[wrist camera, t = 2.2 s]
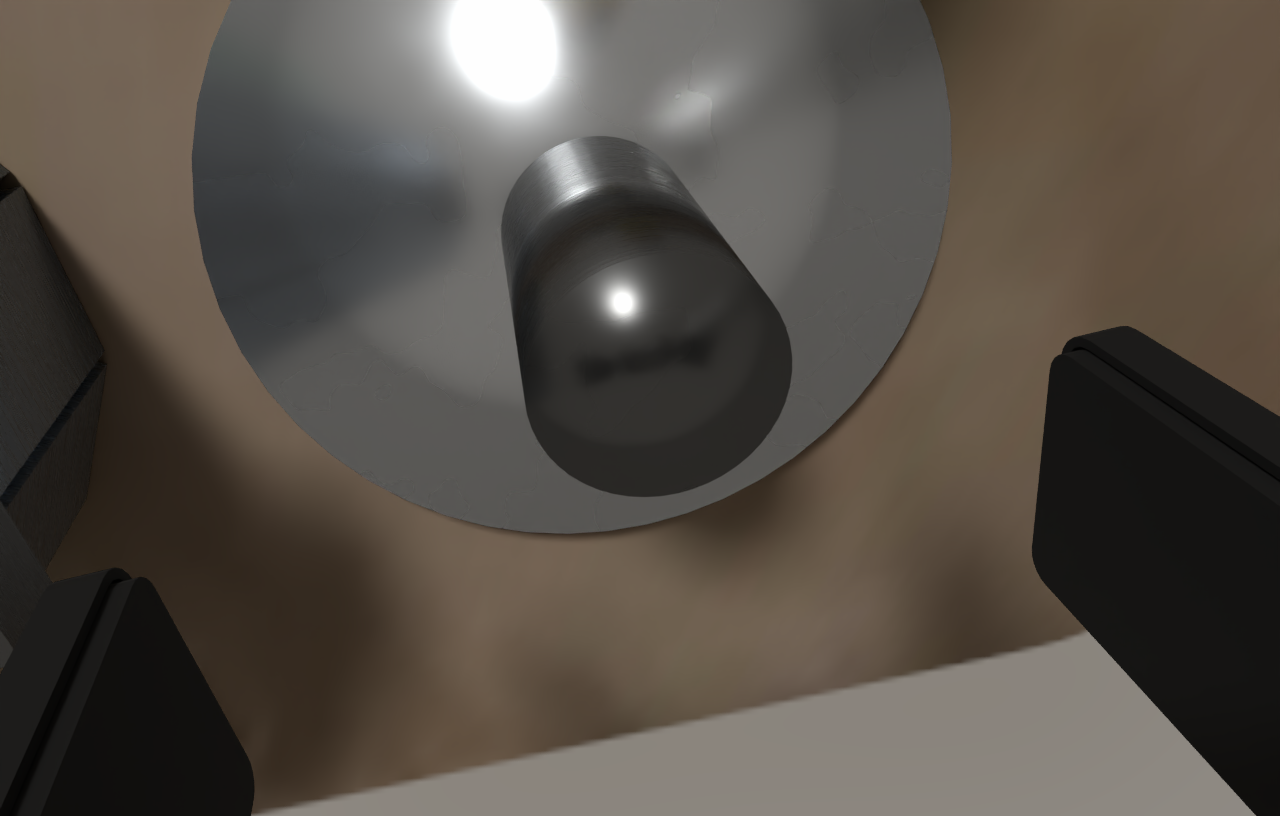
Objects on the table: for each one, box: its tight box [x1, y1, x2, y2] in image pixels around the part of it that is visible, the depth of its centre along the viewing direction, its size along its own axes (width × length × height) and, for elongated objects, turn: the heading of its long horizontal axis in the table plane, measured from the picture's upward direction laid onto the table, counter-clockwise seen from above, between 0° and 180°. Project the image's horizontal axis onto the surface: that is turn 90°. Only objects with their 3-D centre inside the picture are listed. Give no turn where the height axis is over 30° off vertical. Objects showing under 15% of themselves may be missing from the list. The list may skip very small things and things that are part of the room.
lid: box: [192, 0, 952, 534], centre depth 15 cm, size 14×14×7 cm
